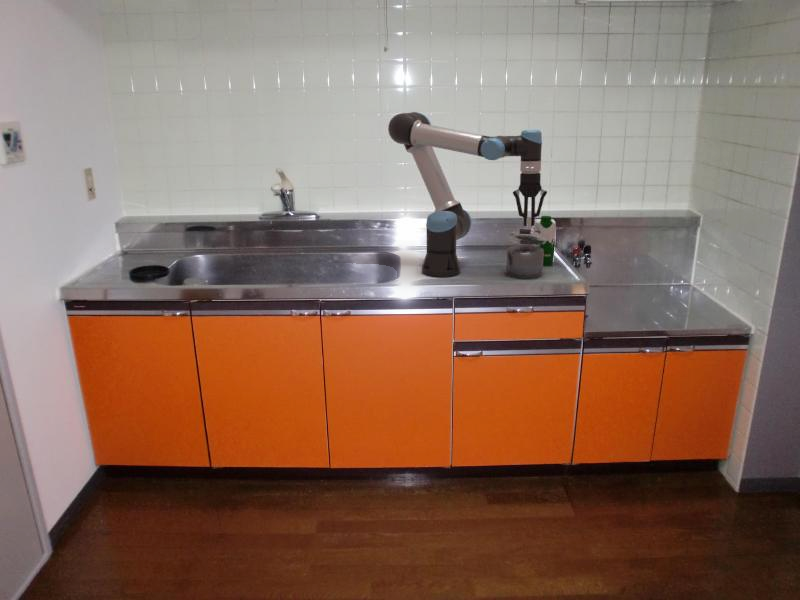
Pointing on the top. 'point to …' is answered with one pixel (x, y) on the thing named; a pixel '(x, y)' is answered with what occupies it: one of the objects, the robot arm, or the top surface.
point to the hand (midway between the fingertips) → (528, 234)
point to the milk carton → (549, 230)
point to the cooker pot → (524, 262)
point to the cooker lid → (526, 237)
